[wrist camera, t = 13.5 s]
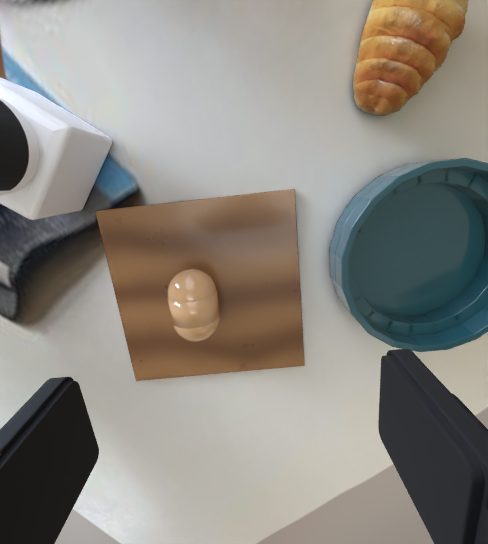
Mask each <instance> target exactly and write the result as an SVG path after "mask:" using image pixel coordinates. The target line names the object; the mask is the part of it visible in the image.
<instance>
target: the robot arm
mask: <svg viewBox="0 0 488 544" xmlns="http://www.w3.org/2000/svg"><path fill="white" fill-rule="evenodd" d="M379 434H380V437H381V440H382V442H383V444H384V446H385V448H386V450H387V452H388V454H389V456H390V458H391V460H392V462H393V463H394V465H395V467H396V469H397V471H398V473H399V475H400V477H401V479H402V481H403V483H404V485H405V487H406V489H407V491H408V493H409V495H410V497H411V499H412V501H413V503H414V505H415V506H416V509H417V511H418V512H419V515H420V516H421V518H422V520H423V522H424V524H425V526H426V528H427V530H428V532H429V534H430V536H431V538H432V540H433V542H434V544H488V429H487V428H486V427H485V426H484V425H483V424H482V423H481V422H480V421H479V420H478V419H477V418H476V417H475V415H474V414H473V413H472V412H471V411H470V410H469V409H468V408H467V407H466V406H465V405H464V404H463V403H462V402H461V401H460V400H459V399H458V398H457V397H456V396H455V395H454V394H451V393H450V391H449V390H448V389H447V388H446V387H445V386H444V385H443V384H442V383H441V382H440V381H439V380H438V379H437V378H436V376H435V375H434V374H433V373H432V372H431V371H430V370H429V369H428V368H427V367H426V366H425V365H424V364H423V363H422V361H421V360H420V359H419V358H418V357H417V356H416V355H415V354H414V353H413V352H412V351H411V350H410V349H399V350H389V351H388V352H387V356H382V359H381V379H380V403H379ZM98 455H99V448H98V444H97V441H96V438H95V435H94V431H93V428H92V425H91V422H90V419H89V415H88V412H87V409H86V406H85V402H84V399H83V396H82V393H81V389H80V386H79V384H78V382H76V381H74V380H73V379H72V378H71V377H61V378H51V379H49V380H47V381H46V382H45V383H44V384H43V385H42V386H41V387H40V389H39V390H38V391H37V392H36V393H35V394H34V395H33V396H32V397H31V398H30V399H29V400H28V401H27V402H26V403H25V404H24V405H23V406H22V407H21V408H20V410H19V411H18V412H17V413H16V414H15V415H14V416H13V417H12V418H11V419H10V420H9V421H8V422H7V423H6V424H5V425H4V426H3V427H2V428H1V429H0V544H54V543H55V541H56V539H57V537H58V535H59V534H60V532H61V530H62V528H63V526H64V524H65V522H66V520H67V518H68V516H69V514H70V512H71V510H72V508H73V506H74V504H75V503H76V501H77V499H78V497H79V495H80V493H81V491H82V489H83V487H84V485H85V483H86V481H87V479H88V477H89V475H90V473H91V471H92V469H93V468H94V466H95V464H96V462H97V459H98Z"/></svg>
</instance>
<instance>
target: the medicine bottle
mask: <svg viewBox="0 0 488 544" xmlns="http://www.w3.org/2000/svg"><path fill="white" fill-rule="evenodd" d="M111 145H112V139H111V138H110V137H109V136H107V135H106V134H104V133H102V132H101V131H99V130H97V129H96V128H94V127H92V126H91V125H89V124H88V123H86V122H84V121H83V120H81V119H79V118H78V117H76V116H74V115H73V114H71V113H69V112H68V111H66V110H65V109H63V108H61V107H60V106H58V105H56V104H55V103H53V102H51V101H50V100H48V99H47V98H45V97H43V96H42V95H40V94H38V93H36V92H34V91H32V90H29V89H27V88H24V87H22V86H20V85H17V84H15V83H12V82H10V81H8V80H5V79H3V78H0V204H2V205H4V206H6V207H8V208H10V209H11V210H13V211H15V212H17V213H19V214H21V215H23V216H24V217H26V218H28V219H31V220H35V219H40V218H45V217H50V216H56V215H61V214H66V213H71V212H76V211H81V210H82V209H83V207H84V205H85V203H86V201H87V198H88V196H89V194H90V192H91V189H92V187H93V185H94V183H95V181H96V178H97V176H98V174H99V172H100V169H101V167H102V165H103V163H104V161H105V158H106V156H107V154H108V152H109V149H110V147H111Z"/></svg>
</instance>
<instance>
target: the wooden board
mask: <svg viewBox="0 0 488 544" xmlns="http://www.w3.org/2000/svg"><path fill="white" fill-rule="evenodd" d="M95 212H96V216H97V220H98V224H99V228H100V233H101V237H102V241H103V245H104V249H105V253H106V258H107V262H108V266H109V270H110V274H111V278H112V283H113V287H114V291H115V295H116V299H117V303H118V308H119V312H120V316H121V320H122V324H123V328H124V333H125V337H126V341H127V345H128V349H129V353H130V358H131V362H132V366H133V370H134V374H135V378H136V381H140V380H151V379H162V378H173V377H184V376H195V375H206V374H217V373H228V372H239V371H250V370H261V369H272V368H283V367H294V366H304V365H305V364H304V346H303V328H302V310H301V293H300V275H299V257H298V240H297V222H296V204H295V189H291V190H282V191H273V192H264V193H254V194H245V195H236V196H227V197H218V198H208V199H199V200H190V201H181V202H171V203H162V204H153V205H144V206H135V207H125V208H116V209H107V210H98V211H95ZM186 269H198V270H202V271H204V272H206V273H207V274H208V275H209V276H210V277H211V278H212V279H213V281H214V283H215V285H216V289H217V296H218V303H219V310H220V323H219V326H218V328H217V330H216V331H215V333H214V334H213V335H212V336H211V337H209V338H208V339H206V340H203V341H199V342H191V341H188V340H185V339H183V338H182V337H180V336H179V335H178V334H177V332H176V331H175V329H174V327H173V324H172V319H171V314H170V308H169V303H168V298H167V290H168V286H169V283H170V281H171V280H172V278H173V277H174V276H175V275H176V274H178V273H179V272H181V271H183V270H186Z"/></svg>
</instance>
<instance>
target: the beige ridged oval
mask: <svg viewBox="0 0 488 544" xmlns="http://www.w3.org/2000/svg"><path fill="white" fill-rule="evenodd" d="M167 298H168V303H169V308H170V314H171V319H172V324H173V327H174V329H175V331H176V332H177V334H178V335H179V336H180V337H182V338H183V339H185V340H188V341H191V342H199V341H203V340H206V339H208V338H209V337H211V336H212V335H213V334H214V333H215V331H216V330H217V328H218V326H219V323H220V310H219V303H218V296H217V289H216V285H215V283H214V281H213V279H212V278H211V277H210V276H209V275H208V274H207V273H206V272H204V271H202V270H198V269H186V270H183V271H181V272H179V273H178V274H176V275H175V276H174V277H173V278H172V280H171V281H170V283H169V286H168V290H167Z"/></svg>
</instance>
